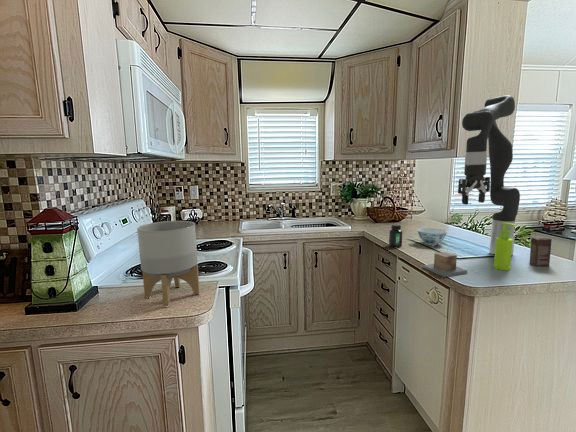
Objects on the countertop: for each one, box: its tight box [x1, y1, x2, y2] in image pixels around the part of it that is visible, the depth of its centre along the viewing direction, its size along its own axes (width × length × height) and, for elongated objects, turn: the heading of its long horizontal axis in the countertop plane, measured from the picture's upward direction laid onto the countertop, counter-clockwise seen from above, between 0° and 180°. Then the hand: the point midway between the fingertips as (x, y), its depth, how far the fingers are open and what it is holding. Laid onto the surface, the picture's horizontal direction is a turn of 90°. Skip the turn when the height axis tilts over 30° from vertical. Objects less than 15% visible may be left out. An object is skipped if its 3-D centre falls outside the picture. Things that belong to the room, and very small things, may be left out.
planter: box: [136, 220, 201, 307], centre depth 112 cm, size 19×19×26 cm
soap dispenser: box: [493, 223, 518, 271], centre depth 135 cm, size 6×7×20 cm
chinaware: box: [417, 227, 448, 246], centre depth 179 cm, size 15×15×8 cm
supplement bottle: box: [388, 223, 403, 249], centre depth 174 cm, size 7×7×12 cm
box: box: [529, 237, 552, 267], centre depth 139 cm, size 6×4×12 cm
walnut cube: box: [433, 251, 458, 271], centre depth 134 cm, size 6×6×6 cm
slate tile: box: [422, 263, 468, 278], centre depth 135 cm, size 12×12×1 cm
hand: (473, 203), depth 130 cm, fingers open, 8 cm apart
